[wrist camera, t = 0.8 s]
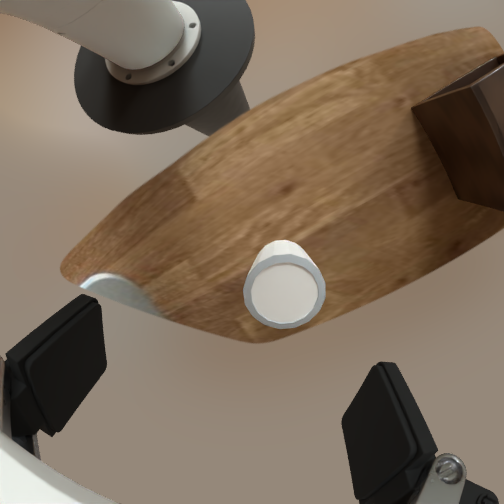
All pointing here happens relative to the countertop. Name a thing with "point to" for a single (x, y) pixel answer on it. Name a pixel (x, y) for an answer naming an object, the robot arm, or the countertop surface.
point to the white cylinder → (284, 286)
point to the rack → (470, 132)
